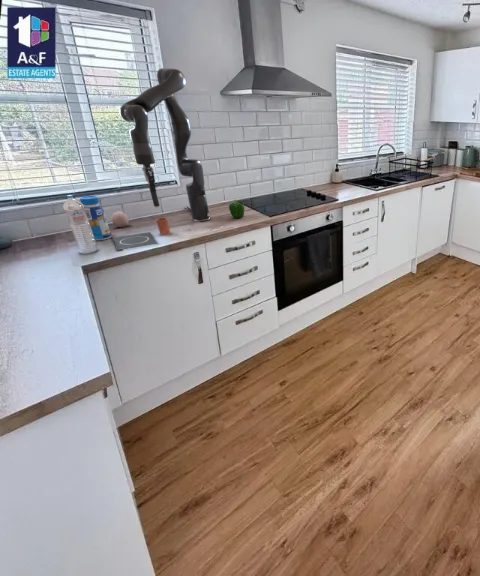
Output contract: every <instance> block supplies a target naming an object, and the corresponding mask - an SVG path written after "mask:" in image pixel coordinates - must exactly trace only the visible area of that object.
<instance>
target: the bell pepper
mask: <svg viewBox="0 0 480 576" xmlns="http://www.w3.org/2000/svg"><path fill="white" fill-rule="evenodd" d="M228 209H229V212H230V215H231V216H232V218H234V219H238V218H243V217H244V215H245V205H244V203H243V202H241V203H240V202H238V200H237V199H234V202H231V204H229V205H228Z"/></svg>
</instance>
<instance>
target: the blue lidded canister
mask: <svg viewBox="0 0 480 576" xmlns="http://www.w3.org/2000/svg"><path fill="white" fill-rule="evenodd" d="M79 201H80V202H81V203H82V204H83V205H84V209H85V212H86V215H87V218H88V221H89V223H90V226H91V229H92V232H93V235H94V238H95V241H106V240H108V239H111V238H112V236H113V235H112V233H111V230H110V227H109V224H108V220H107V215H106V214H105V210H104V209H103V207H102V206H101V205H100V199H99V197H98V196H97V195H85V196H81V197H79Z"/></svg>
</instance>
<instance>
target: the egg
mask: <svg viewBox="0 0 480 576" xmlns="http://www.w3.org/2000/svg"><path fill="white" fill-rule="evenodd" d="M111 222H112V224H113V225H115V227H117V228H124V227H126V226H128V224H129V217H128V216H127V215H126V213H124V212H122V211H115V212H113V214H112V216H111Z"/></svg>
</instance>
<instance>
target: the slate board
mask: <svg viewBox="0 0 480 576" xmlns="http://www.w3.org/2000/svg"><path fill="white" fill-rule="evenodd" d="M112 241H113V243H114V245H115V248H116V251H117V252H121V251H123V250H127V249H132V248H140V247H144V246H151V245H157V244H158V242H157V241H156V239H155V237H154V236H153V234H151V232H150V231H149V232H141V233H135V234H129V235H121V236H114V237H112Z"/></svg>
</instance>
